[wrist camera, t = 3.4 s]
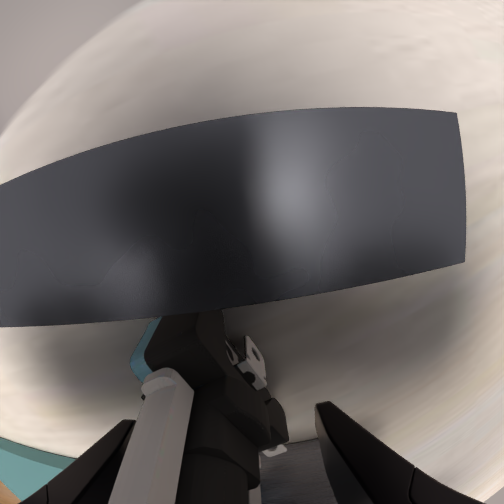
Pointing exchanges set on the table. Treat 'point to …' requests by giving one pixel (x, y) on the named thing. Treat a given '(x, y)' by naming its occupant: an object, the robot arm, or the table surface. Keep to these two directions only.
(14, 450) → the teal rubber mat
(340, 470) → the robot arm
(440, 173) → the grey slab pair
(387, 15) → the table surface
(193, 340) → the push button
